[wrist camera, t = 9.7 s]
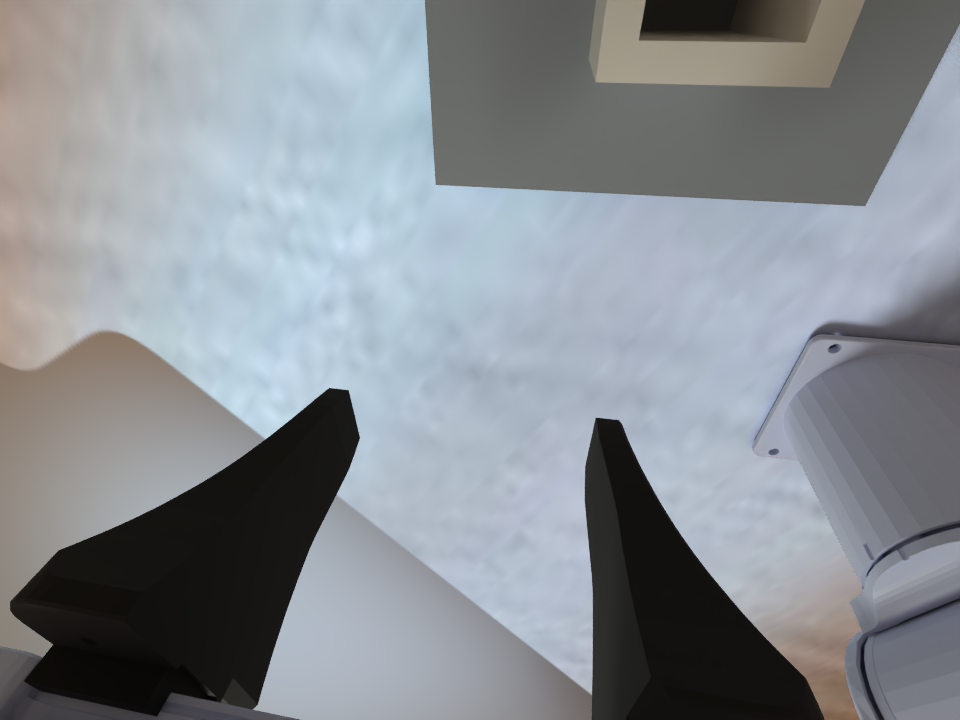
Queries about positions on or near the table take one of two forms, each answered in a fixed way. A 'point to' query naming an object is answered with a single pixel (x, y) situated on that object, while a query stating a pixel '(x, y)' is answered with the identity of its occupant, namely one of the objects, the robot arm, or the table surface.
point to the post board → (668, 106)
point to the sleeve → (726, 45)
